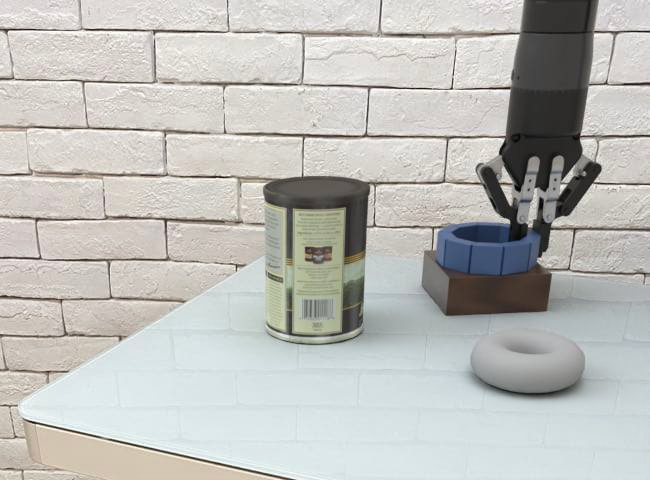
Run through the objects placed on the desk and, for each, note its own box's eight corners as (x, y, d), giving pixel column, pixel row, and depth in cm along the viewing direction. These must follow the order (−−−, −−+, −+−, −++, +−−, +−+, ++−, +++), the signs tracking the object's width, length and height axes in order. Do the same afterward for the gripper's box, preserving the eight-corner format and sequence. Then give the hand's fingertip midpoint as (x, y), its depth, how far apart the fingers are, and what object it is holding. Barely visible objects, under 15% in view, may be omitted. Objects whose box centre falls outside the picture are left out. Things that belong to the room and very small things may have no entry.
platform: (514, 281, 112) (518, 246, 110) (546, 310, 103) (552, 273, 101) (421, 285, 111) (424, 250, 109) (445, 315, 102) (449, 278, 100)
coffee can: (331, 306, 105) (336, 171, 98) (382, 334, 97) (391, 189, 90) (247, 320, 102) (244, 181, 94) (292, 351, 94) (294, 201, 86)
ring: (516, 246, 110) (519, 220, 108) (549, 273, 101) (553, 244, 99) (426, 250, 109) (428, 223, 108) (452, 277, 100) (454, 248, 99)
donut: (602, 378, 87) (506, 349, 93) (610, 341, 85) (512, 314, 91) (544, 410, 81) (446, 377, 87) (550, 372, 79) (450, 341, 85)
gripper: (494, 88, 92) (475, 268, 102) (632, 84, 93) (600, 263, 102) (472, 79, 99) (456, 250, 108) (601, 76, 100) (574, 245, 109)
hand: (526, 255), depth 105 cm, fingers closed on ring, 1 cm apart
